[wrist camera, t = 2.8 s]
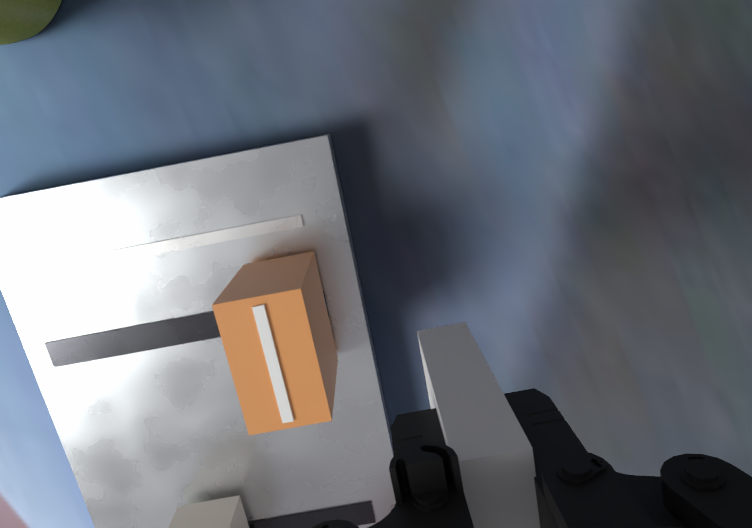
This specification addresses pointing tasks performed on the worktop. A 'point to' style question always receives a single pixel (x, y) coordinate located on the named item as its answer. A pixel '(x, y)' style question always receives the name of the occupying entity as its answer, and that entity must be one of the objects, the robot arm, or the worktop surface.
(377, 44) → the worktop surface
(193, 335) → the console
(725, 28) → the worktop surface
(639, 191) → the worktop surface
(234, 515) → the fader far
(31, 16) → the plant pot
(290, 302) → the fader near
